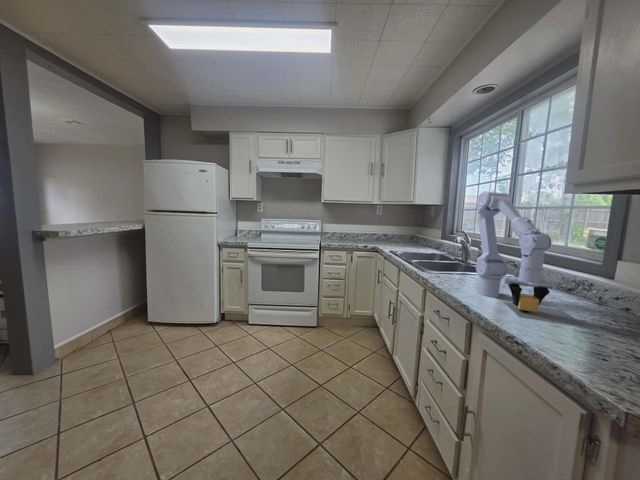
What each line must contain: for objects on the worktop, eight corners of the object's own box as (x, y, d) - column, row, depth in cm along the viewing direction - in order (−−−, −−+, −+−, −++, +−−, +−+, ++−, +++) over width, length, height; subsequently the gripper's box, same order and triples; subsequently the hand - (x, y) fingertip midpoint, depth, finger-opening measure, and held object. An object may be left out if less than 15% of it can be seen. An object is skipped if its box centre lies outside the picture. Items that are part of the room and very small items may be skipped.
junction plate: (502, 304, 94) (502, 301, 94) (561, 313, 88) (562, 310, 88) (519, 320, 80) (519, 317, 80) (590, 332, 74) (591, 328, 74)
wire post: (519, 309, 87) (520, 301, 87) (526, 310, 86) (527, 302, 86) (522, 311, 85) (523, 303, 85) (529, 312, 84) (530, 304, 84)
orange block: (513, 304, 89) (515, 292, 88) (530, 306, 87) (532, 294, 86) (519, 309, 84) (521, 296, 83) (537, 312, 82) (539, 299, 82)
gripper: (510, 268, 82) (504, 306, 84) (564, 273, 78) (557, 314, 79) (502, 264, 89) (497, 299, 91) (552, 269, 84) (546, 306, 86)
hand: (524, 306), depth 85 cm, fingers closed on orange block, 5 cm apart
